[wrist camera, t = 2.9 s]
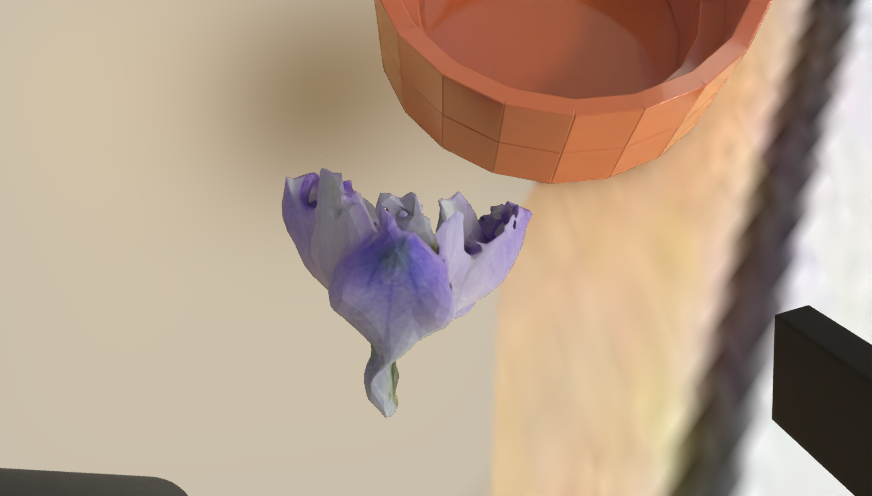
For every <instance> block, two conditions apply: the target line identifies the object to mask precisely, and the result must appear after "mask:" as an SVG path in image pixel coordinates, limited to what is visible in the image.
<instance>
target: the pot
mask: <svg viewBox="0 0 872 496" xmlns="http://www.w3.org/2000/svg"><path fill="white" fill-rule="evenodd" d="M374 1H375V7H376V16H377V23H378V31H379V38H380V46H381V54H382V61H383V67H384V71H385V73H386V75H387V77H388V79H389V81H390V83H391V85H392V87H393V89H394V91H395V93H396V95H397V97H398V99H399V101H400V103H401V105H402V107H403V109H404V110H405V112H406V113H407V114H408V115H409V116H410V117H411V118H412V119H413V120H414V121H415V122H416V123H417V124H418V125H419V126H420V127H421V128H422V129H424V130H425V131H426V132H427V133H428V134H429V135H430V136H431V137H432V138H433V139H434V140H435V141H436V142H437V143H438V144H439V145H440V146H441V147H443V148H444V149H446V150H448V151H450V152H452V153H454V154H456V155H458V156H460V157H462V158H464V159H466V160H468V161H470V162H472V163H474V164H476V165H478V166H480V167H482V168H484V169H486V170H488V171H490V172H493V173H496V174H501V175H507V176H512V177H517V178H523V179H528V180H534V181H539V182H544V183H562V182H573V181H583V180H594V179H604V178H608V177H612V176H614V175H617V174H619V173H621V172H624V171H626V170H629V169H631V168H634V167H636V166H638V165H641V164H643V163H646V162H648V161H650V160H653V159H655V158H658V157H659V156H661V155H662V154H663V153H664V152H665V151H667V150H668V149H669V148H670V147H671V146H672V145H673V144H674V143H676V142H677V141H678V140H679V139H680V138H681V137H682V136H683V135H685V134H686V133H687V132H688V131H689V130H690V129H691V128H692V127H693V126H695V125H696V123H697V122H698V121H699V119H700V118H701V116H702V115H703V113H704V112H705V111H706V109H707V108H708V106H709V105H710V103H711V102H712V100H713V99H714V98H715V96H716V95H717V93H718V92H719V90H720V89H721V87H722V86H723V85H724V83H725V82H726V80H727V79H728V77H729V76H730V75H731V73H732V72H733V70H734V69H735V67H736V66H737V64H738V63H739V62H740V60H741V59H742V57H743V56H744V54H745V53H746V52H747V50H748V49H749V47H750V45H751V43H752V41H753V39H754V37H755V35H756V33H757V31H758V29H759V27H760V25H761V23H762V20H763V18H764V16H765V14H766V12H767V10H768V8H769V6H770V3H771V1H772V0H374Z"/></svg>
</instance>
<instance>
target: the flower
mask: <svg viewBox="0 0 872 496" xmlns="http://www.w3.org/2000/svg"><path fill="white" fill-rule="evenodd" d="M438 202H439V206H440V214H439V221H438V225H437V229H436V234H433V232H432V229H431V224H430V219H429V218H427V217H426V216H424V215H423V213H422V204H421V202H420V201H419V199H418V198H417V196H416V194H414V193H412V192H410V193H408V194H406V195H405V196H403V197H402V198H398V197H396V196H394V195H392V194H390V193H381V194H380V196H379V198H378V202H377V205H376V209H375V207H374V206H373V205H372V204H370V203H369V202H368V201H367V200H366V199H364V198H363V197H362V196H361V194H359V193H358V192H357V191H353V189H352V183H351V181H350V180H348V181H344V182H343V180H342V175H341V173H332V172H330V171H329V170H327V169H324V168H322V169H321V171H320V176H319V175H318V174H316V173H309V174H306V175H302V176H299V177H297V178H294V179H292V178H289V177H286V182H285V189H284V196H283V200H282V215H283V219H284V222H285V225H286V228H287V231H288V233H289V235H290V236H291V238H292V240H293V242H294V243H295V245H296V248H297V250H298V252H299V254H300V257H301V259H302V261H303V263H304V265H305V266H306V268H307V269H308V270H309V271H310V273H311V274H312V275H313V277H315V278H316V279H317V280H318V281H319V282H320V283H321V284H322V285H323V286H324V287H325V288H326V289H327V290H328V291H329V292H328V293H329V299H330V305H331V307H332V308H333V310H334V311H335V312H337V313H338V314H339V315H340V316H342V317H343V318H344V319H345V320H346V321H348V322H349V323H350V324H351V325H352V326H353V327H354V328H356V329H357V330H358V331H359V332H360V333H361V334H362V335H363V336H364V337H365V338H366V339H367V340H368V341H369V342H370V343H371V349H372V350H371V357H370V359H369V361H368V363H367V366H366V369H365V373H364V384H365V389H366V393H367V397H368V399H369V400H370V401H371V402H372V403H373V404H374V405H375V406H376V407H377V408H378V409H379V410H380V412H381V413H382V414H383V415H384V417H386V418H387V417H391V416H392V415H393V414H394V413H395V411H396V409H397V406H398V399H397V396H396V386H397V382H398V379H399V374H398V370H397V367H396V360H397V359H398V358H400V357H401V356H402V355H404V354H405V353H406V352H407V351H408V350H409V349H410V348H411V347H412V346H413V345H414V344H416V342H418V341H419V340H421V339H423V338H425V337H427V336H428V335H430V334H432V333H434V332H437V331H439V330H441V329H443V328H445V327H446V326H447V325H448V324H449V323H450V322H451V321H452V320H453V319H456V318H458V317H461V316H464V315H466V314H467V313H468V312H469V310H470V309H471V308H472V307H473V306H474V304H475V303H476V301H478V300H480V299H481V298H483V297H485V296H486V295H488V294H489V293H490V292H491V291H493V290H494V289H495V288H496V287H497V286H499V284H500V283H501V282H502V281H503V280H504V279H505V277H506V276H507V274H508V273H509V271H510V269H511V267H512V266H513V264H514V262H515V260H516V258H517V255H518V253H519V251H520V249H521V247H522V244H523V240H524V236H525V232H526V228H527V224H528V222H529V220H530V218H531V216H532V213H531V212H530V211H529V210H527V209H525V208H522V207H520V206H518V205H517V204H516V205H515V204H513V203H511V202H507V203H506V204H505V205H503V204H501V205H499V206H491V209H490V210H491V214H490V215H483V216H482V217H480V219H479V220H477V216H476V214H475V212H474V210H473V209H472V207H471V205H470V204H469V203H468V201H467V200H466V199H465V198H464V197H463V196H462V194H461V193H460V192H457V193H456V194H455V195H453V196H452V197H451V198H449V199H448V200H446V199H443V198H441V199H440V200H439V201H438ZM384 208H386V210H385V209H384Z"/></svg>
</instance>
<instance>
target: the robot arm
mask: <svg viewBox="0 0 872 496" xmlns="http://www.w3.org/2000/svg"><path fill="white" fill-rule="evenodd" d="M772 420H774V421H775V422H776V423H777V424H778V425H779V426H780V427H781V428H782V429H783V430H784V431H785V432H786V433H788V434H789V435H790V436H791V437H792V438H793V439H794V440H795V441H796V442H797V443H798V444H799V445H801V446H802V447H803V448H804V449H805V450H806V451H807V452H808V453H809V454H810V455H811V456H812V457H814V458H815V459H816V460H817V461H818V462H819V463H820V464H821V465H822V466H823V467H824V468H825V469H826V470H828V471H829V472H830V473H831V474H832V475H833V476H834V477H835V478H836V479H837V480H838V481H839V482H841V483H842V484H843V485H844V486H845V487H846V488H847V489H848V490H849V491H850V492H851V493H852V494H854V495H855V496H872V345H871V344H870V343H868V342H866V341H865V340H863V339H862V338H860V337H858V336H857V335H855V334H854V333H852V332H851V331H849V330H847V329H846V328H844V327H843V326H841V325H839V324H838V323H836V322H835V321H833V320H831V319H830V318H828V317H827V316H825V315H824V314H822V313H820V312H819V311H817V310H816V309H814V308H812V307H811V306H809V305H808V306H804V307H801V308H797V309H794V310H790V311H787V312H783V313H780V314H776V315H775V333H774V368H773V402H772Z"/></svg>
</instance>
